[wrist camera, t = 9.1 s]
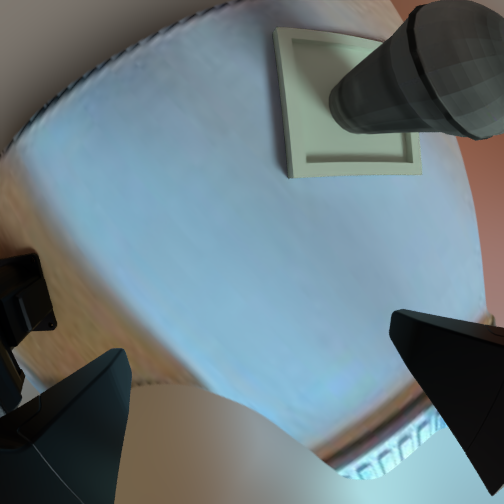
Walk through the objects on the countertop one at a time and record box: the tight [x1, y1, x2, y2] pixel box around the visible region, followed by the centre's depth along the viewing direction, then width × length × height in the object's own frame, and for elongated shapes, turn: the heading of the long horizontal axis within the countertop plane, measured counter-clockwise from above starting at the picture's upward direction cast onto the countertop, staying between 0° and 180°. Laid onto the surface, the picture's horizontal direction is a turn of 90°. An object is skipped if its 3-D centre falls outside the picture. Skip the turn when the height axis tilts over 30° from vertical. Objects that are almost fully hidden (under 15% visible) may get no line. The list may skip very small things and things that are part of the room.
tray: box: [272, 27, 422, 178], centre depth 20 cm, size 12×12×1 cm
